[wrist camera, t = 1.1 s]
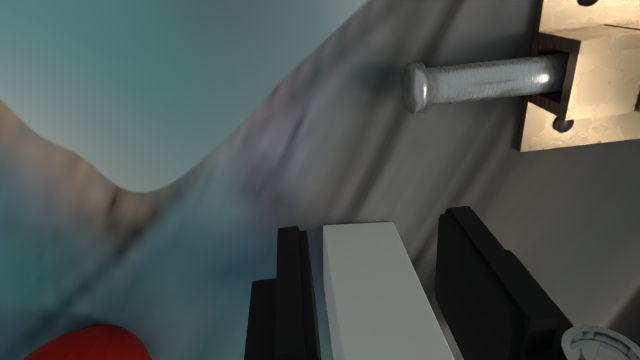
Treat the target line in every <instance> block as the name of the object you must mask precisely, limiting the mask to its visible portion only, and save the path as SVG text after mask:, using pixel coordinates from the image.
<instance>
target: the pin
mask: <svg viewBox="0 0 640 360" xmlns="http://www.w3.org/2000/svg"><path fill="white" fill-rule="evenodd" d="M569 54H570V53H563V54H553V55H544V56H535V57H525V58H516V59H507V60H497V61H488V62H479V63H469V64H460V65H451V66H441V67H432V68H426V66H425V65H424V63H422V62H418V63H409V64H407V65H406V67H405V70H404V76H403V92H404V100H405V104H406V107H407V110H408V112H409V113H410V114H415V113H424V112H425V111H426V110H427V108H428V106H431V105H440V104H449V103H458V102H467V101H476V100H486V99H495V98H504V97H513V96H522V95H531V94H540V93H549V92H558V91H563V85H564V80H565V75H566V70H567V65H568V60H569Z"/></svg>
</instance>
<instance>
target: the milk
mask: <svg viewBox="0 0 640 360" xmlns="http://www.w3.org/2000/svg"><path fill="white" fill-rule="evenodd" d="M323 283H324V290H325V298H326V306H327V314H328V322H329V329H330V337H331V345H332V353H333V360H454V357H453V355H452V353H451V351H450V348H449V346H448V344H447V342H446V339H445V337H444V335H443V333H442V330H441V328H440V326H439V324H438V321H437V319H436V317H435V315H434V313H433V310H432V308H431V306H430V304H429V301H428V299H427V297H426V295H425V292H424V290H423V288H422V286H421V283H420V281H419V279H418V277H417V274H416V272H415V270H414V268H413V265H412V263H411V261H410V259H409V256H408V254H407V252H406V250H405V247H404V245H403V243H402V241H401V239H400V236H399V234H398V232H397V230H396V227H395V225H394V223H393V222H379V223H359V224H339V225H324V226H323Z"/></svg>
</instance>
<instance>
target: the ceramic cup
mask: <svg viewBox="0 0 640 360" xmlns="http://www.w3.org/2000/svg"><path fill="white" fill-rule="evenodd" d="M24 360H152V359H151V357H150V355H149V354H148V352H147V350H146V349H145V348H144V346H143V344H142V342H141V341H140V340H139V339H138V337H136V336H135V335H134V334H132V333H131V332H129V331H127V330H125V329H122V328H120V327H115V326H110V325H95V326H90V327H87V328H84V329H82V330H77V331H74V332H71V333H68V334H66V335H63V336H60V337H58V338H56V339H54V340H52V341H50V342H48V343H47V344H45V345H43V346H42V347H40V348H39V349H37V350H35V351H34V352H33V353H31V354H30V355H28V356H27V357H26V358H25V359H24Z"/></svg>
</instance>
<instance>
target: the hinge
mask: <svg viewBox="0 0 640 360" xmlns="http://www.w3.org/2000/svg"><path fill="white" fill-rule="evenodd" d="M563 53H570V54H569V60H568V65H567V70H566V75H565V80H564V85H563V91H558V92H549V93H540V94H531V95H524V101H523V107H522V114H521V121H520V127H519V134H518V141H517V148H516V149H517V150H518V151H519V152H526V151H534V150H543V149H552V148H561V147H569V146H578V145H587V144H595V143H604V142H613V141H622V140H630V139H639V138H640V0H538V7H537V14H536V20H535V27H534V34H533V41H532V47H531V54H530V57H535V56H544V55H553V54H563Z"/></svg>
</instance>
